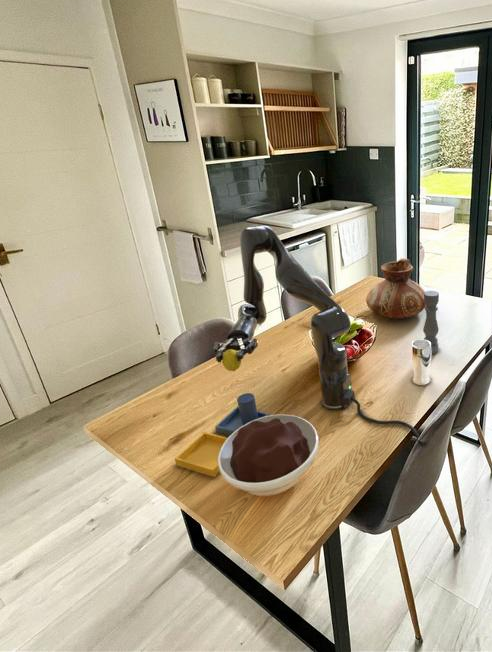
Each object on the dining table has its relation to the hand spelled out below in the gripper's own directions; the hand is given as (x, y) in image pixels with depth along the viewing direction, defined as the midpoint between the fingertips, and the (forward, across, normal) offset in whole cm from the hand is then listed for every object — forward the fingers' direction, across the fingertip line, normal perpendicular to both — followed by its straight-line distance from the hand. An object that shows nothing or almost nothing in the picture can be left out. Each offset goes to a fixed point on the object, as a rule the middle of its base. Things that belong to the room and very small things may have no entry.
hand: (228, 359), depth 123 cm
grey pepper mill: (-30, +69, +20) cm, 78 cm away
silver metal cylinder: (-9, +62, +20) cm, 66 cm away
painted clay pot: (-69, +60, +20) cm, 94 cm away
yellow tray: (+20, -3, +19) cm, 28 cm away
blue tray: (+8, +3, +20) cm, 21 cm away
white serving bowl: (+28, +16, +20) cm, 38 cm away
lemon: (-3, 0, +6) cm, 7 cm away
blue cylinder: (+7, +5, +19) cm, 21 cm away
